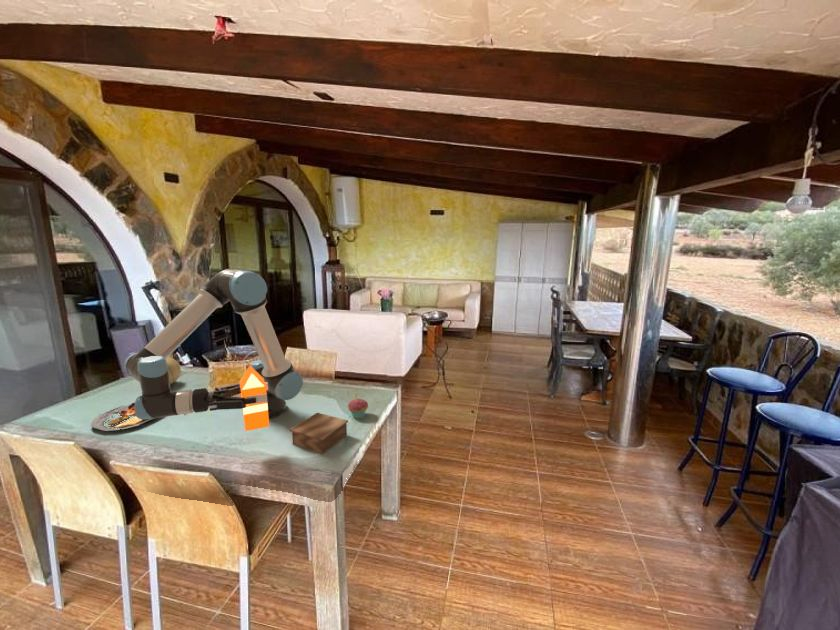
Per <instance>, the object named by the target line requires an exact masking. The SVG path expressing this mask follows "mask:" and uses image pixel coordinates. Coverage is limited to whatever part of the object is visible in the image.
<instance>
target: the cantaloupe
mask: <svg viewBox="0 0 840 630" xmlns="http://www.w3.org/2000/svg"><path fill="white" fill-rule="evenodd" d="M166 362H167V365H168V373H169V380H170V386H171V385H172V384H174V383H175V382H176V381H178V379H179V378H180V376H181V374H182V370H181V366H180V364H179V363H178V362H177V360H175V359H174V358H172V357H170V356H168V357H167V358H166Z"/></svg>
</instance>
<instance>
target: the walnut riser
mask: <svg viewBox="0 0 840 630" xmlns="http://www.w3.org/2000/svg"><path fill="white" fill-rule="evenodd" d="M348 423H349V420H348V419H345V418H340V417H336V416H332V415H328V414H324V413H320V412H316V413H314V414H312V415H310V416H309V417H307V418H306V419H305V420H303V421H301V422H299V423H297V424H296V425H295V426H293V427H291V428H290V429H289V431H290V432H291V437H292V440H291V441H292V445H294V446H298V447H301V448H304V449H307V450H310V451H313V452H316V453H320V454H325V453H326V452H328V451H329V450H330V449H331V448H332V447H334V446H335V445H336V444H337V443H338V442H339V443H340V441H341V440H343V439H344V438H345V437H346V436H348V433H347V432H348V431H347V430H348V428H347V426H348V425H347V424H348Z"/></svg>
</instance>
